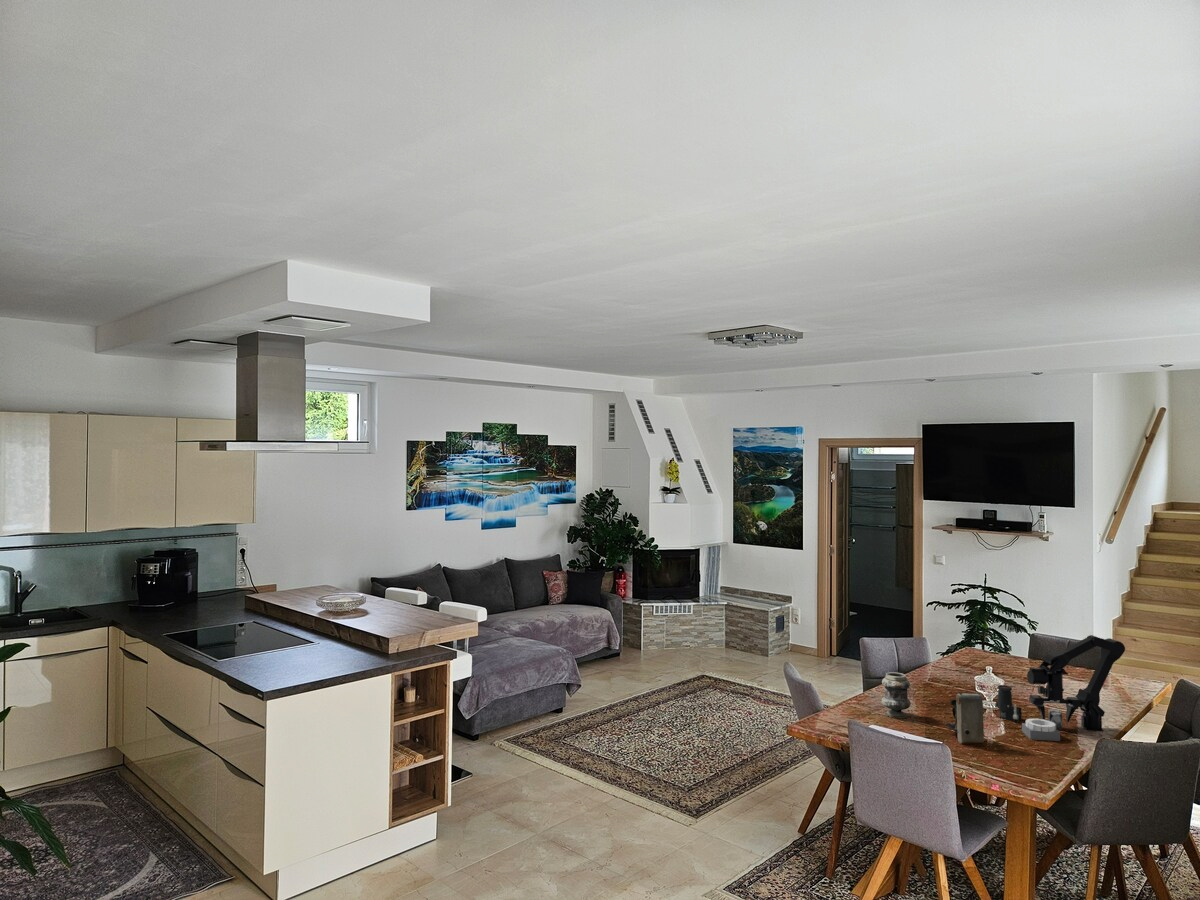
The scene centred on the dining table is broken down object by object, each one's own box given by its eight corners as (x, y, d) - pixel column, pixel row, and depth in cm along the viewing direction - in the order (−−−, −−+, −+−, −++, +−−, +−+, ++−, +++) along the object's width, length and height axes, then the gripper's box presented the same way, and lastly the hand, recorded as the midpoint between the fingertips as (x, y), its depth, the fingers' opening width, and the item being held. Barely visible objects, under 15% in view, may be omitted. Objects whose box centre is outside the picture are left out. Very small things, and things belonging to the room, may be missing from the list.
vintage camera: (966, 733, 328) (963, 684, 329) (985, 744, 312) (983, 693, 314) (943, 733, 327) (941, 685, 329) (961, 745, 312) (959, 694, 313)
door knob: (1059, 726, 335) (1059, 709, 335) (1064, 730, 330) (1063, 713, 330) (1046, 725, 336) (1046, 709, 336) (1051, 729, 331) (1051, 712, 331)
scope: (1016, 691, 339) (991, 686, 346) (1017, 723, 338) (992, 718, 345) (1022, 687, 345) (998, 683, 352) (1023, 719, 344) (998, 714, 351)
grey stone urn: (909, 712, 355) (908, 671, 355) (912, 720, 343) (911, 678, 343) (880, 709, 358) (880, 670, 358) (882, 717, 346) (882, 676, 347)
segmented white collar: (1050, 732, 327) (1050, 719, 327) (1060, 741, 316) (1060, 727, 317) (1021, 731, 329) (1021, 717, 329) (1030, 739, 318) (1030, 725, 319)
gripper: (1071, 680, 340) (1071, 716, 339) (1024, 678, 343) (1025, 714, 343) (1082, 687, 329) (1082, 725, 328) (1033, 685, 332) (1034, 722, 332)
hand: (1055, 721), depth 333 cm, fingers open, 9 cm apart
